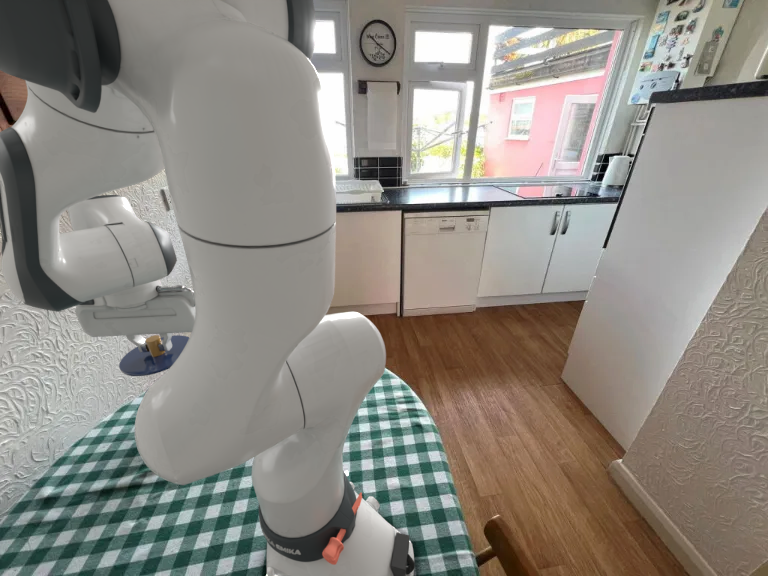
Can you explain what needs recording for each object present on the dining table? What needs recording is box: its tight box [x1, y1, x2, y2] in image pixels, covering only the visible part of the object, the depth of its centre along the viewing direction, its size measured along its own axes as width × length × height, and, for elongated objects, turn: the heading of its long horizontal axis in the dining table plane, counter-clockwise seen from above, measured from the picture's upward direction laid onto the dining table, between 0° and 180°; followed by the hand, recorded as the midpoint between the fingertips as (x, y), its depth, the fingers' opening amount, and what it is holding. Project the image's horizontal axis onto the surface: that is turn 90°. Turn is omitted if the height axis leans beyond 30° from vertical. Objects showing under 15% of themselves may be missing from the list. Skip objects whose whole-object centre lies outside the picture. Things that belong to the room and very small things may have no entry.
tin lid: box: [118, 334, 190, 377], centre depth 62 cm, size 13×13×5 cm
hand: (156, 349), depth 62 cm, fingers closed on tin lid, 2 cm apart
